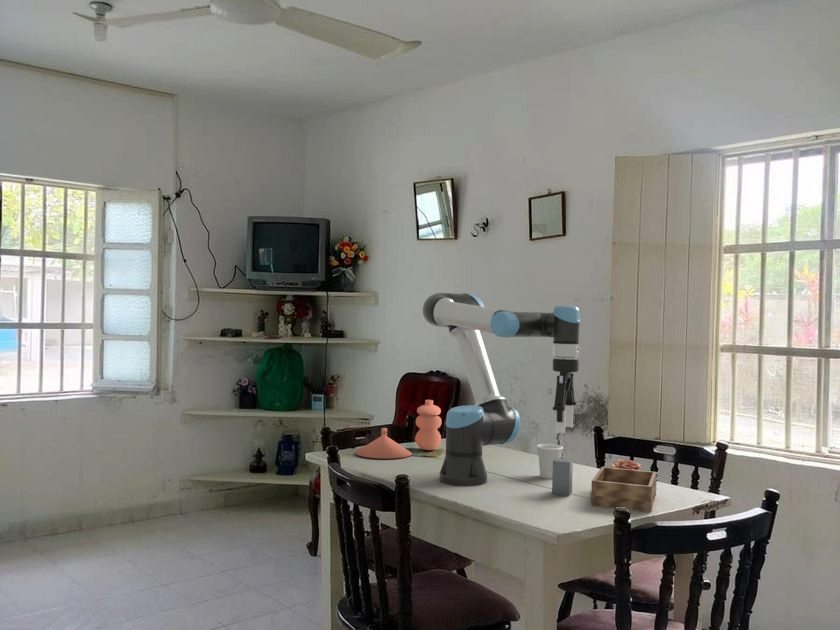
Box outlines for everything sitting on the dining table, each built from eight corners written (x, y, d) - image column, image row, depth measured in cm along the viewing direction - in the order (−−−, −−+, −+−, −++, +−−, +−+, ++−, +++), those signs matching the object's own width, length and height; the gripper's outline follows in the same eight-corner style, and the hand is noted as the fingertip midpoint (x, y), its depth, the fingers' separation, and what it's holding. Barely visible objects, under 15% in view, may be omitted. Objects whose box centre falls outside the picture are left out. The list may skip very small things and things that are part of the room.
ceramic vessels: (371, 460, 263) (372, 407, 263) (345, 450, 281) (346, 400, 281) (453, 452, 281) (455, 403, 281) (424, 443, 299) (425, 396, 299)
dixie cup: (541, 472, 249) (542, 442, 249) (565, 476, 245) (566, 445, 245) (532, 477, 242) (532, 446, 242) (556, 480, 238) (557, 449, 238)
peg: (551, 494, 219) (552, 460, 219) (555, 490, 224) (556, 457, 224) (568, 496, 218) (569, 462, 218) (571, 492, 222) (572, 459, 222)
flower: (644, 483, 236) (644, 458, 236) (636, 489, 228) (637, 463, 228) (613, 479, 241) (614, 455, 241) (605, 485, 233) (606, 459, 233)
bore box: (591, 505, 208) (591, 480, 207) (601, 489, 227) (601, 466, 227) (651, 512, 202) (651, 487, 202) (656, 495, 221) (656, 472, 221)
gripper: (571, 360, 208) (569, 436, 208) (584, 356, 231) (583, 425, 231) (544, 359, 210) (543, 434, 210) (560, 355, 234) (559, 423, 234)
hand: (564, 430), depth 221 cm, fingers open, 13 cm apart
